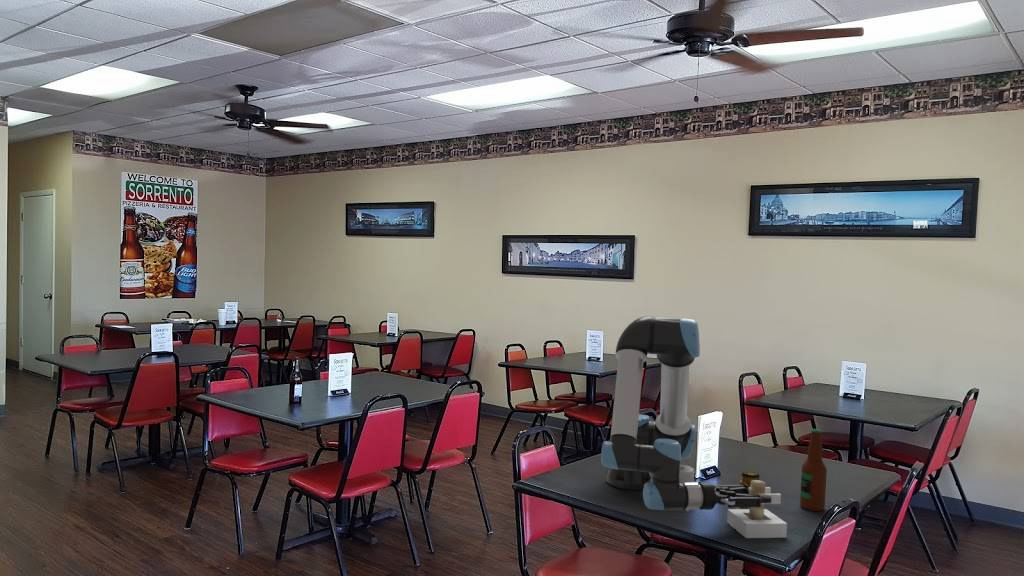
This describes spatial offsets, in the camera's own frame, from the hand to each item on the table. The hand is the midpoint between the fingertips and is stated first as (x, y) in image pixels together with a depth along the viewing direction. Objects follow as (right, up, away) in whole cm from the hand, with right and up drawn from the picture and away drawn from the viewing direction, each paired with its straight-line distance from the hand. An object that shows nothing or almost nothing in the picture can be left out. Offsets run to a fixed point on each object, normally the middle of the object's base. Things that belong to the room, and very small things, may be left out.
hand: (774, 495), depth 208 cm
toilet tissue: (-21, -8, +32) cm, 39 cm away
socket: (-6, -10, 0) cm, 11 cm away
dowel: (-6, -10, 0) cm, 11 cm away
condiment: (-2, -10, +15) cm, 18 cm away
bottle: (+20, -10, +22) cm, 31 cm away
